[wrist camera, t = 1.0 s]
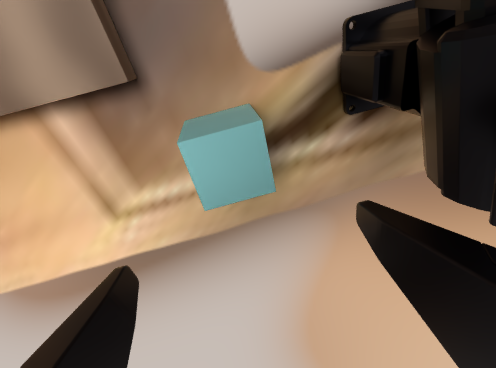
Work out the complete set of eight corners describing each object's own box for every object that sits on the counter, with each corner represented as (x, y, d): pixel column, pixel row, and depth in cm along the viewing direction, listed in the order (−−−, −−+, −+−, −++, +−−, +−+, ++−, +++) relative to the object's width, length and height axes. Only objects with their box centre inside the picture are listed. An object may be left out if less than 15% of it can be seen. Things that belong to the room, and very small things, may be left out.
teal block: (248, 103, 18) (261, 120, 13) (261, 161, 20) (276, 191, 16) (184, 120, 18) (177, 143, 13) (205, 176, 20) (204, 210, 16)
